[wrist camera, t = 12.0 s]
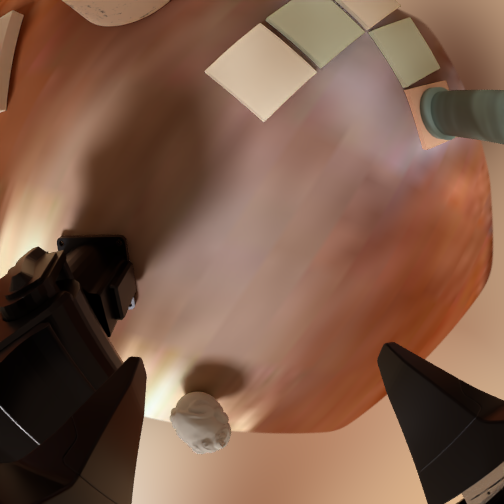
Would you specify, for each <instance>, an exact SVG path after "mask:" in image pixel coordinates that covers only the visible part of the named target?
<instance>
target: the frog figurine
mask: <svg viewBox="0 0 504 504" xmlns="http://www.w3.org/2000/svg"><path fill="white" fill-rule="evenodd" d="M228 420H229V419H228V416H227V414H226V413H225V412H223V408H222V407H221V405H220V403H218V402H217V400H216V399H215V398H214V397H212V396H211V395H209V394H207V393H204V392H191V393H188V394H186V395H184V396H183V397H182V398H181V399H180V400H179V401H178V403H177V405H176V408H173V409H172V410H171V416H170V421H171V422H172V426H173V428H174V429H175V431H176V434H177V435H178V436H179V438H180V439H182V440H183V441H184V442H185V443H186V444H187V445H188V446H189V447H191V448H192V451H193V452H194V453H197V454H204V453H212V452H215V451H216V450H220V449H222V448H224V447H225V446H226V445H227V443H228V442H229V439H230V436H231V428H230V425H229V423H228Z"/></svg>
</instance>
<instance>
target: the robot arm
mask: <svg viewBox="0 0 504 504" xmlns="http://www.w3.org/2000/svg"><path fill="white" fill-rule="evenodd" d="M118 240H121V241H122V244H119V243H118ZM61 241H63V243H64V245H63V244H62V242H61ZM57 246H58V252H52V253H48V252H46V251H44V250H43V249H41V248H40V247H36V248H33V249H31V250H30V251H29V252H27V253H26V254H25V255H24V256H23V257H21V258H20V259H19V260H18V261H17V263H16V265H15V266H14V267H12V268H11V269H9V270H8V274H6V275H5V276H4V277H2V278H1V279H0V504H131V503H132V492H133V484H134V476H135V469H136V461H137V455H138V448H139V441H140V436H141V430H142V424H143V418H144V408H145V392H146V379H147V376H146V371H145V368H144V364H143V361H142V359H141V358H140V357H129V358H128V359H127V360H126V361H125V362H124V363H123V361H122V360H121V358H120V356H119V355H118V353H117V352H116V350H115V348H114V347H113V345H112V343H111V342H110V340H109V338H108V337H110V336H111V334H112V332H113V330H114V327H115V325H116V323H117V320H122V319H123V318H124V317H125V315H126V313H127V310H128V309H133V308H134V307H135V304H136V301H135V292H136V283H135V277H134V270H133V264H132V262H131V261H129V256H128V248H127V241H126V238H125V237H124V236H123V235H92V236H62V237H60V238H59V239H58V240H57ZM131 303H132V304H131ZM377 362H378V366H379V369H380V372H381V376H382V379H383V382H384V385H385V389H386V392H387V394H388V397H389V400H390V402H391V404H392V407H393V409H394V411H395V414H396V416H397V419H398V421H399V424H400V426H401V429H402V431H403V433H404V436H405V439H406V442H407V444H408V447H409V450H410V452H411V455H412V458H413V461H414V463H415V466H416V469H417V472H418V475H419V478H420V481H421V484H422V487H423V490H424V493H425V497H426V500H427V503H428V504H445V503H446V502H448V501H450V500H451V499H453V498H455V497H456V496H458V495H459V494H461V493H462V495H463V497H464V498H463V499H462V500H461V501H459V502H458V503H456V504H504V400H501V399H499V398H497V397H494V396H492V395H490V394H488V393H485V392H483V391H481V390H478V389H477V388H475V387H473V386H471V385H469V384H467V383H465V382H463V381H462V380H459V379H458V378H456V377H454V376H453V375H451V374H449V373H447V372H445V371H444V370H442V369H440V368H439V367H437V366H435V365H433V364H432V363H430V362H428V361H426V360H425V359H423V358H421V357H419V356H417V355H416V354H414V353H412V352H410V351H409V350H407V349H405V348H403V347H402V346H400V345H398V344H396V343H395V342H390V343H385V344H384V345H383V347H382V349H381V352H380V354H379V356H378V360H377Z"/></svg>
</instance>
